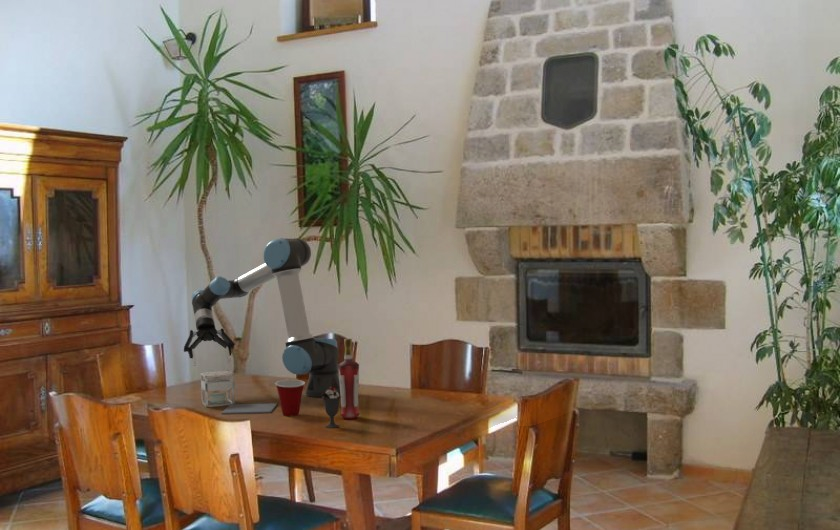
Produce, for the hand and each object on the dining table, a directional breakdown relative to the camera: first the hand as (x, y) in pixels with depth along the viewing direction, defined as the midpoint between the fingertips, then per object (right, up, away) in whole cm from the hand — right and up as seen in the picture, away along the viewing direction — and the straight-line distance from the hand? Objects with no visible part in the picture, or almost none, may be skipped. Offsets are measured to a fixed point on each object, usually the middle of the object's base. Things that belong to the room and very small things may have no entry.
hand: (212, 362), depth 364 cm
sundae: (+54, -16, -58) cm, 81 cm away
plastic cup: (+37, -15, -35) cm, 53 cm away
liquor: (+59, -15, -44) cm, 75 cm away
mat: (+20, -15, -23) cm, 34 cm away
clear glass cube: (+4, -15, -9) cm, 18 cm away
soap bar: (+4, -15, -9) cm, 18 cm away
